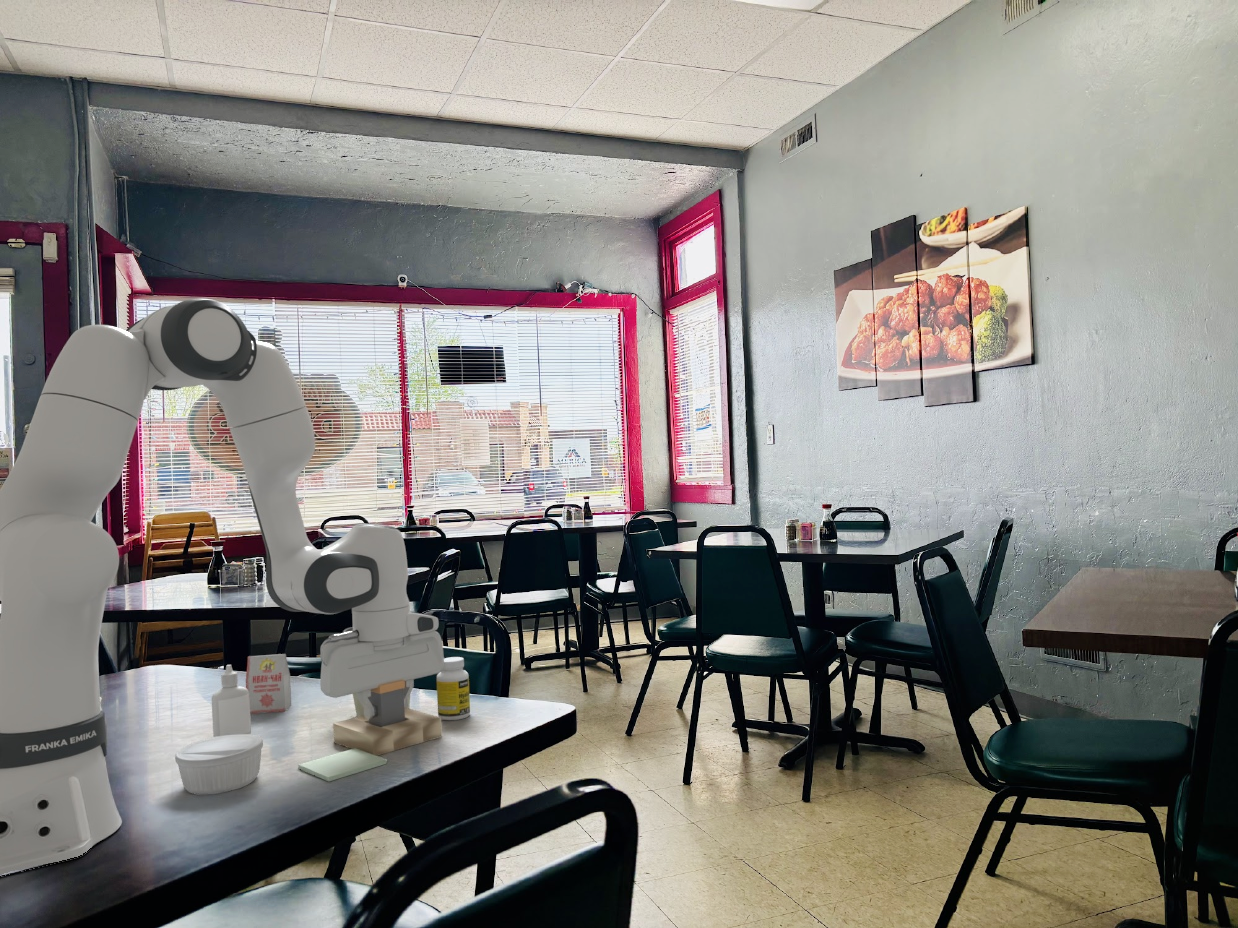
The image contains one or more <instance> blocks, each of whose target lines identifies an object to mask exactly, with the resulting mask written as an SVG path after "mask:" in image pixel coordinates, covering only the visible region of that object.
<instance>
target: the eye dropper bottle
mask: <svg viewBox="0 0 1238 928" xmlns="http://www.w3.org/2000/svg"><path fill="white" fill-rule="evenodd" d="M220 675H221V676H220V677H221V678H220V679H221V687H222V688H220V689H218V690H217V691H215V692H214V693H213V694H212V696H211V717H212V719H211V720H212V735H213V737H217V736H225V735H237V734H251V735H252V724H251V723H252V721H251V714H250V701H249V691H248V689H247V688H246V686H245V687H244V686H240V685H239V682H238V681H239V679H238V672H237V671H234V670H233V667H232V664H227V665H226V667H225V671H224V673H221V674H220ZM213 737H212V738H213Z"/></svg>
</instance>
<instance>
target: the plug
mask: <svg viewBox="0 0 1238 928" xmlns="http://www.w3.org/2000/svg"><path fill="white" fill-rule="evenodd" d="M403 688H405V680H400V681H396V682H392V683H387V684H383V685H379V686H378V688H375V689H371V696H370V697H368V699H369V701H370V702H371V704H373V705H377V706H378V711H377V712H378V716H377V717H374V718H370V719H369V724H372V725H376V726H379V727H384V726H387V725H391V724H394V723H398V722H402V721H405V710H404V692H403Z"/></svg>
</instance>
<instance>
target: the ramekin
mask: <svg viewBox="0 0 1238 928" xmlns="http://www.w3.org/2000/svg"><path fill="white" fill-rule="evenodd" d="M263 747H264V740H263V738H262V737H261V736H259V735H256V734H252V733H251V734H237V735H225V736H217V737H209V738H208V737H207V738H204V739H201V740H198V741H196V742H192V743H189V744H187V745H185V746H183V747H181V748H180V749H179V750H177V751H176V753H175V756H174V757H175V763H176V764H177V767H178V770H179V771H178V772H179V774H180V775H179V776H180V779H181V783H182V785H183V787H184V789H185V790H186V791H187V792H188V793H189V794H190V793H191V794H193V793H195V794H194V795H201V794H205V795H215V794H214V793H217V794H222V793H227V792H230V791H231V790H232V791H235V790H238V789H241V788H244V787H245V786H247V785H250V784H251V783H252V782H254V781H255V780H256V778H257V776H258V775H259V774H260V768H261V767H260V766H261V760H262V759H261V758H262V757H261V756H262V749H263ZM232 791H231V792H232Z"/></svg>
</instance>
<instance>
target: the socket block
mask: <svg viewBox="0 0 1238 928" xmlns="http://www.w3.org/2000/svg"><path fill="white" fill-rule="evenodd" d="M404 710H405V721H402V722H398V723H394V724H391V725H387V726H384V727H379V726H376V725H372V724H369V719H368V718H365V717H364V716H360V717H357V716H356V717H353V718H349V719H345V720H341V721H338V722H334V723H333V724H332V725H333V727H332V728H333V743H335V744H337V745H340V746H342V747H343V746H344V747H345V748H349V749H354V748H356V749H359V750H362V751H364V752H367V753H370V754H373V755H375V756H378V757H379V756H381V755H384V754H388V753H391V752H395V751H398V750H401V749H404V748H408V747H411V746H415V745H418V744H421V743H424V742H427V741H430V740H431V741H432V740H434V739H438V738H441V737H443V735H442V732H443V731H442V730H443V729H442V719H441V717H438V715H433V714H430V713H426V712H422V711H420V710H416V709H411V708H410V707H409V708H408V709H404Z"/></svg>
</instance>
